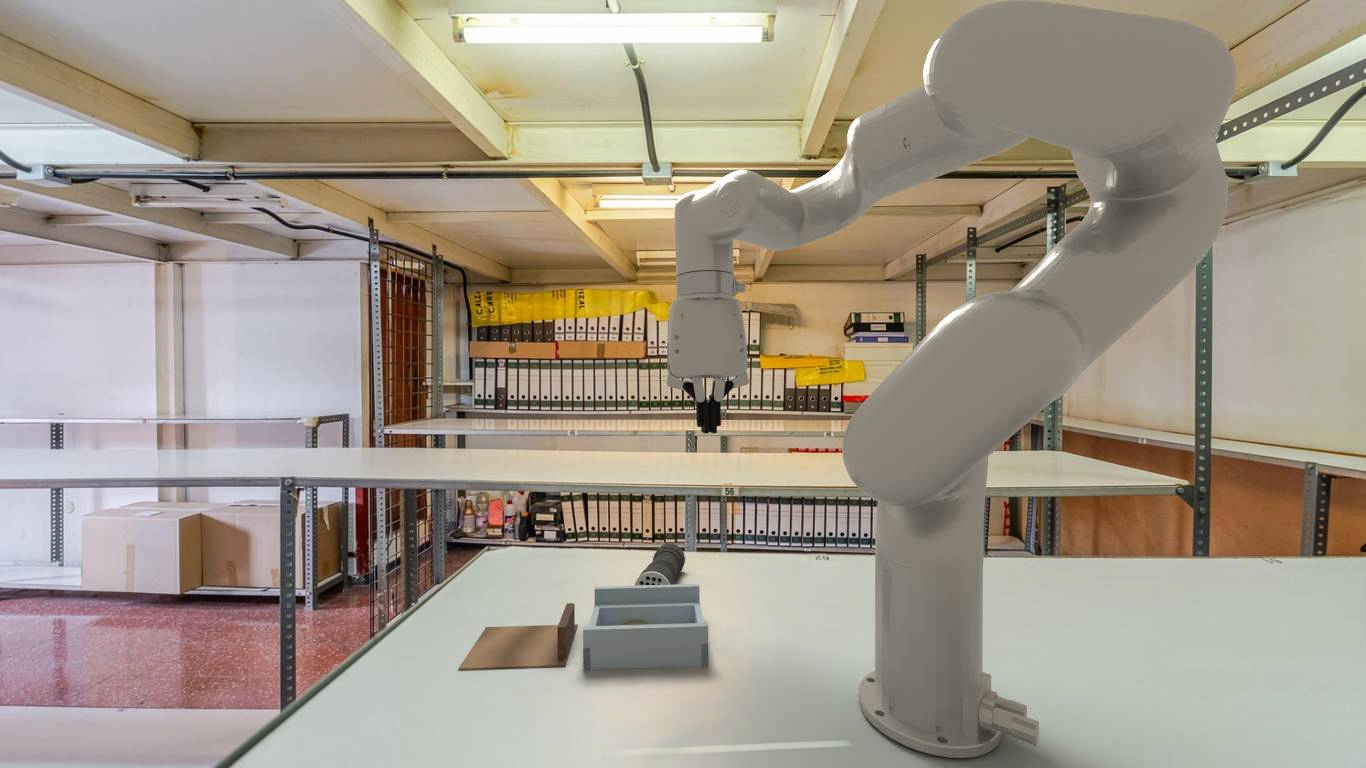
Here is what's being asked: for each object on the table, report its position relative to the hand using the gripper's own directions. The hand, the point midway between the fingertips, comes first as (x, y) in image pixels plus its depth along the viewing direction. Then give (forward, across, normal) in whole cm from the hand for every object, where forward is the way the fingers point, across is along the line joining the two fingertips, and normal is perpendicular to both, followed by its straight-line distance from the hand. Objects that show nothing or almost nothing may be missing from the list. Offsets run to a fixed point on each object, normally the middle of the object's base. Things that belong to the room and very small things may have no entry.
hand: (708, 432), depth 67 cm
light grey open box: (+26, +9, +2) cm, 27 cm away
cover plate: (+26, +24, +2) cm, 35 cm away
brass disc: (+25, +10, 0) cm, 27 cm away
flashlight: (+26, +6, -15) cm, 30 cm away
